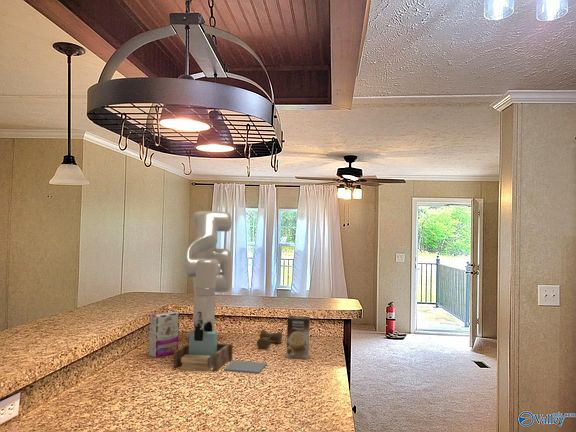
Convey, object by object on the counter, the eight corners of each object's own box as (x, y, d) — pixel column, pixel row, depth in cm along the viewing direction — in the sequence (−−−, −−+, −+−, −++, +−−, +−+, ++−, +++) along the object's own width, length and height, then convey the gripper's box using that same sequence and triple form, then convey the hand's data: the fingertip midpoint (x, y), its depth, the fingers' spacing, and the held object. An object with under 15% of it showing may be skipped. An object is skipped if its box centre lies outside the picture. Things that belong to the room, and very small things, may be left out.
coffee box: (285, 358, 185) (286, 318, 185) (287, 354, 191) (288, 315, 192) (308, 359, 184) (309, 319, 184) (309, 355, 190) (310, 316, 191)
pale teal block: (191, 362, 175) (192, 330, 176) (216, 364, 173) (217, 332, 174) (188, 364, 172) (189, 332, 173) (213, 366, 170) (214, 333, 171)
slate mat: (233, 362, 177) (233, 360, 177) (266, 364, 174) (266, 363, 174) (223, 370, 165) (224, 369, 165) (259, 373, 162) (259, 371, 163)
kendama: (251, 350, 199) (264, 339, 219) (272, 352, 197) (284, 341, 216) (251, 336, 199) (265, 326, 219) (273, 338, 197) (284, 328, 216)
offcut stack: (184, 366, 169) (184, 354, 169) (211, 368, 168) (211, 355, 169) (180, 370, 164) (180, 358, 164) (207, 372, 164) (208, 359, 164)
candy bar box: (170, 351, 191) (172, 311, 192) (178, 353, 188) (180, 312, 189) (148, 356, 182) (149, 314, 183) (155, 358, 179) (157, 316, 180)
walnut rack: (188, 356, 183) (189, 341, 183) (232, 359, 180) (232, 344, 180) (171, 367, 167) (171, 351, 167) (218, 371, 163) (218, 354, 164)
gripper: (203, 290, 183) (202, 333, 182) (186, 294, 166) (184, 342, 165) (221, 290, 182) (220, 334, 181) (206, 295, 165) (204, 343, 164)
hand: (203, 338), depth 173 cm, fingers open, 9 cm apart
